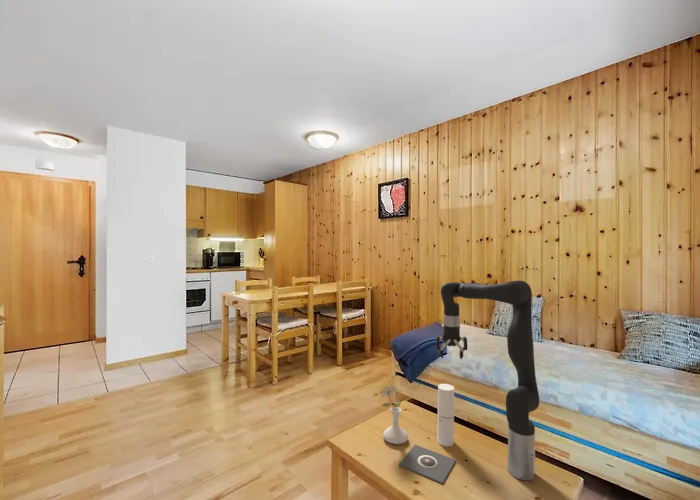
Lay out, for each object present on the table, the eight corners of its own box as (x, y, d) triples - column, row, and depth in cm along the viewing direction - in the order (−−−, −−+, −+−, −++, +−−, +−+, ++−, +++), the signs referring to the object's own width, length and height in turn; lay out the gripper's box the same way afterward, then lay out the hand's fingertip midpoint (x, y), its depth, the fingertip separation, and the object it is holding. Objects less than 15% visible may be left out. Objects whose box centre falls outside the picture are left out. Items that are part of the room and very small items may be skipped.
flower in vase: (407, 433, 157) (407, 380, 157) (409, 447, 146) (409, 391, 145) (379, 431, 159) (380, 379, 158) (379, 445, 147) (379, 389, 147)
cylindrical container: (450, 448, 146) (451, 391, 145) (434, 442, 150) (435, 387, 150) (455, 440, 151) (456, 386, 151) (440, 435, 156) (441, 382, 155)
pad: (455, 461, 137) (455, 458, 137) (442, 484, 124) (442, 481, 124) (414, 445, 147) (414, 443, 147) (398, 465, 134) (398, 463, 134)
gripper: (465, 323, 162) (465, 356, 162) (435, 322, 164) (435, 354, 164) (468, 326, 154) (468, 361, 154) (437, 325, 156) (437, 360, 156)
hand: (451, 358), depth 159 cm, fingers open, 8 cm apart
